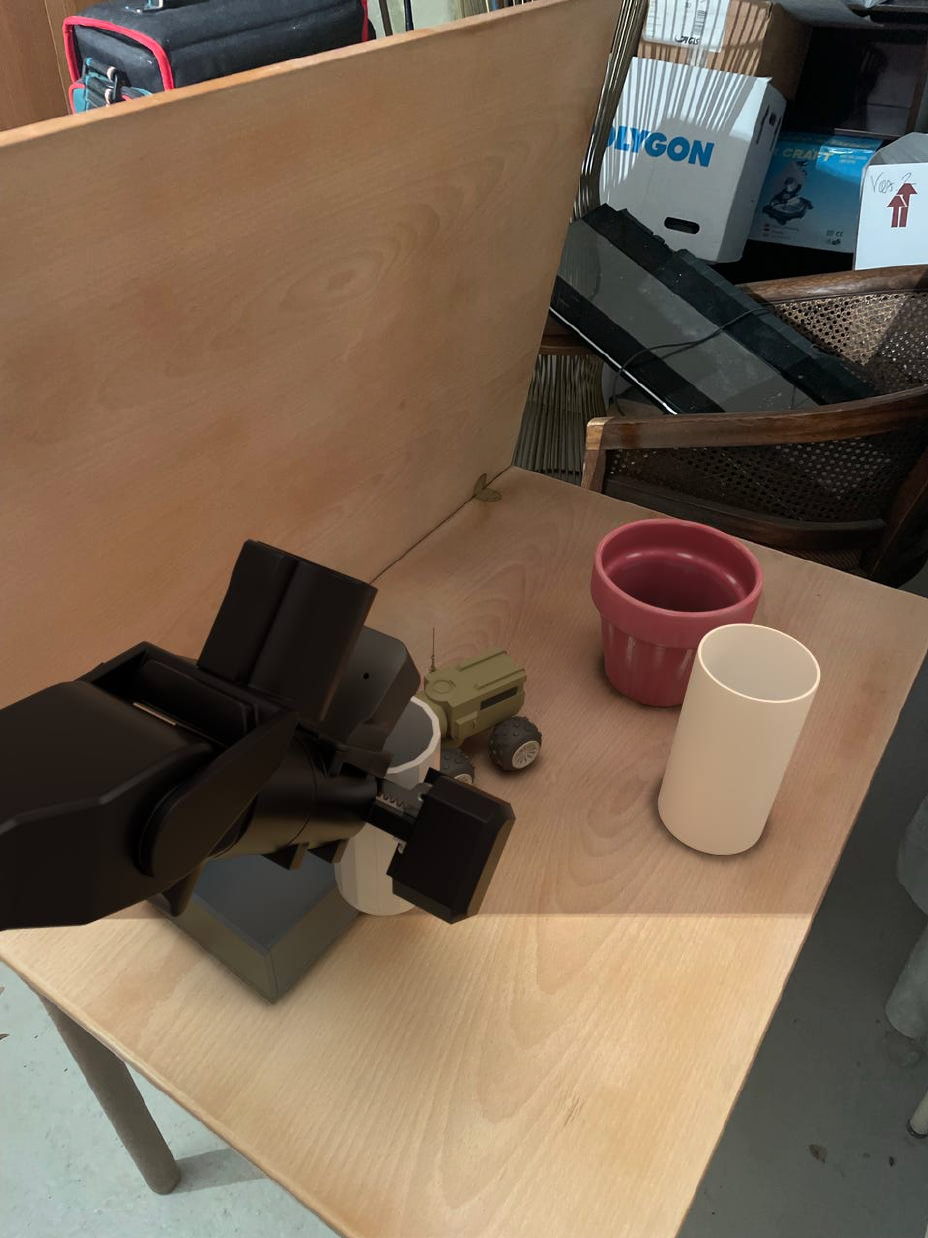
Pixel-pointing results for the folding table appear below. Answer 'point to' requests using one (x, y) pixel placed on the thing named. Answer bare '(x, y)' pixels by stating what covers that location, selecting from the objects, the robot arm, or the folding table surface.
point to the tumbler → (373, 847)
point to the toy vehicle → (481, 711)
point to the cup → (735, 736)
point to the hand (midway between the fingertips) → (396, 790)
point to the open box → (266, 917)
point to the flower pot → (667, 601)
